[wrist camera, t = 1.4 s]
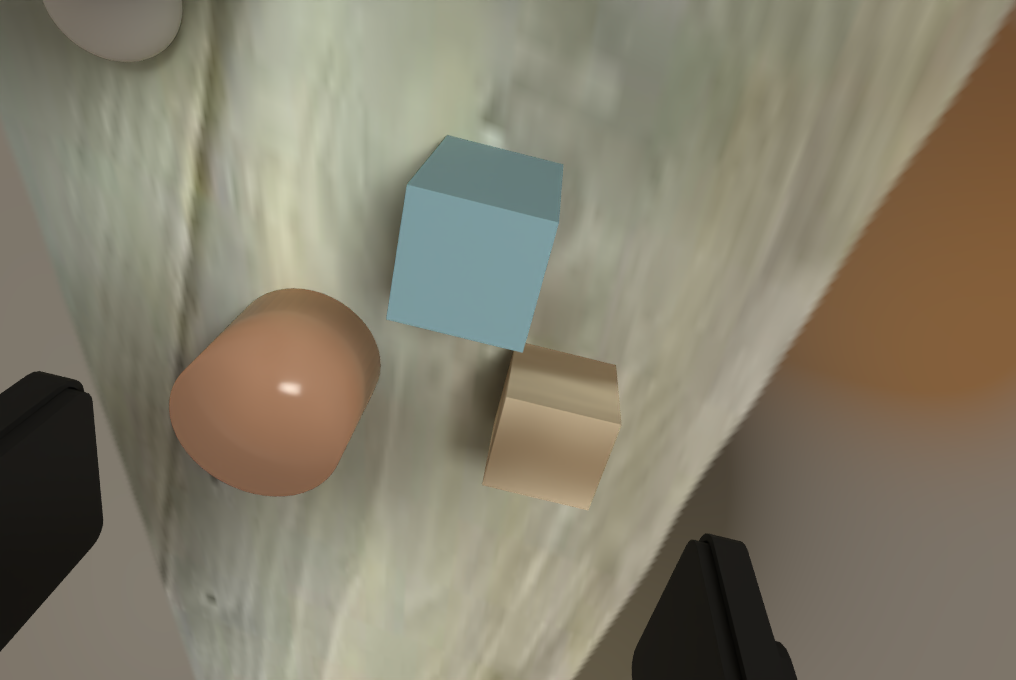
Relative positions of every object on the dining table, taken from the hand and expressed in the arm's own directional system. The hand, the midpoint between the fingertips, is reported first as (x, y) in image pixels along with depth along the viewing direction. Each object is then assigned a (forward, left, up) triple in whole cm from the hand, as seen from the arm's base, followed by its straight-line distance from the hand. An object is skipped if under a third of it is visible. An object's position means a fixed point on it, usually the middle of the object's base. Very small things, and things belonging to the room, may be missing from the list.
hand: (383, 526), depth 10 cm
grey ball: (-4, -12, -15) cm, 20 cm away
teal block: (0, 0, -15) cm, 15 cm away
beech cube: (+7, +4, -15) cm, 17 cm away
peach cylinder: (+8, -6, -15) cm, 18 cm away
